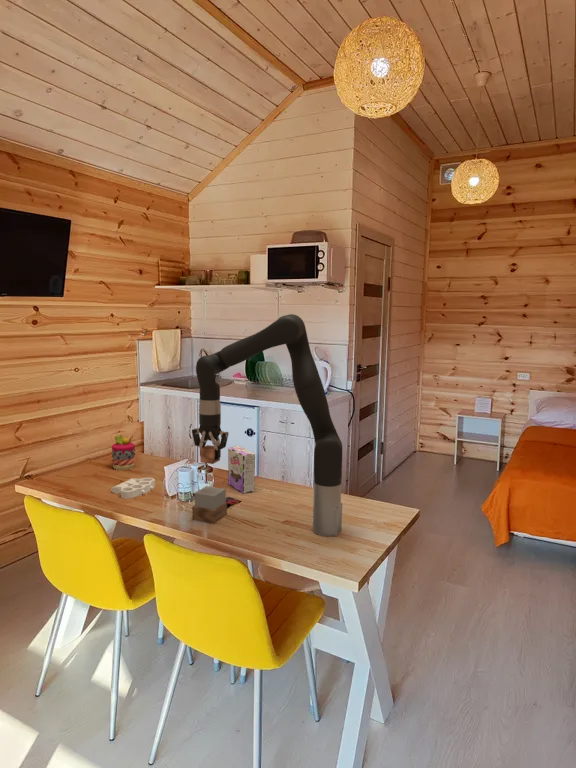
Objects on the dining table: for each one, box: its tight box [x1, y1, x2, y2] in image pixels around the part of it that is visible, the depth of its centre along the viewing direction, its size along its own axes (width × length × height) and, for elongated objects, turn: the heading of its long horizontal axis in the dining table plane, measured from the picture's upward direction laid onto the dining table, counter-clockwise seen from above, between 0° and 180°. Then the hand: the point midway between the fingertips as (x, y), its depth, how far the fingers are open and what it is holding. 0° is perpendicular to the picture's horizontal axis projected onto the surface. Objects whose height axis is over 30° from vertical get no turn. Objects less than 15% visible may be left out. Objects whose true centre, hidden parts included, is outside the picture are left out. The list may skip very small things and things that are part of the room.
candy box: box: [227, 445, 256, 494], centre depth 215 cm, size 14×6×16 cm, turn 33°
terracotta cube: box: [199, 444, 221, 465], centre depth 182 cm, size 5×5×5 cm
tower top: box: [194, 485, 227, 510], centre depth 184 cm, size 8×8×5 cm
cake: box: [110, 434, 137, 471], centre depth 240 cm, size 10×11×15 cm
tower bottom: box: [191, 501, 228, 525], centre depth 184 cm, size 9×9×5 cm
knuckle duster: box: [110, 477, 156, 499], centre depth 210 cm, size 3×18×15 cm
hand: (210, 458), depth 182 cm, fingers closed on terracotta cube, 5 cm apart
